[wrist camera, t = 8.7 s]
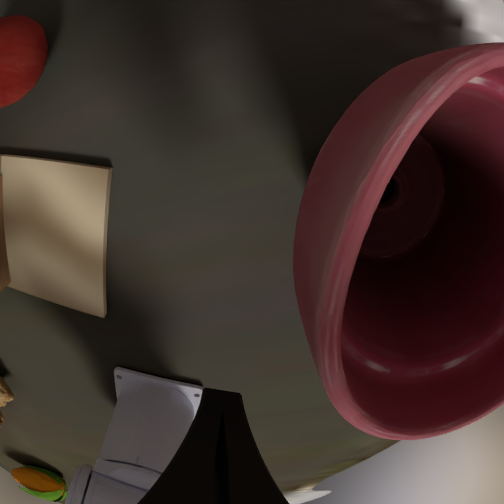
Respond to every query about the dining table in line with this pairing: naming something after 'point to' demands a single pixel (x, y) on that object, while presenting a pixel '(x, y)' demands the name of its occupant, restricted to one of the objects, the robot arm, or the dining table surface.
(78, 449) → the dining table surface
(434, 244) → the plant pot
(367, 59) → the dining table surface
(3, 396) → the ginger root
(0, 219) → the t block
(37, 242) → the board
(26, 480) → the corn
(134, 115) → the dining table surface
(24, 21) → the onion
